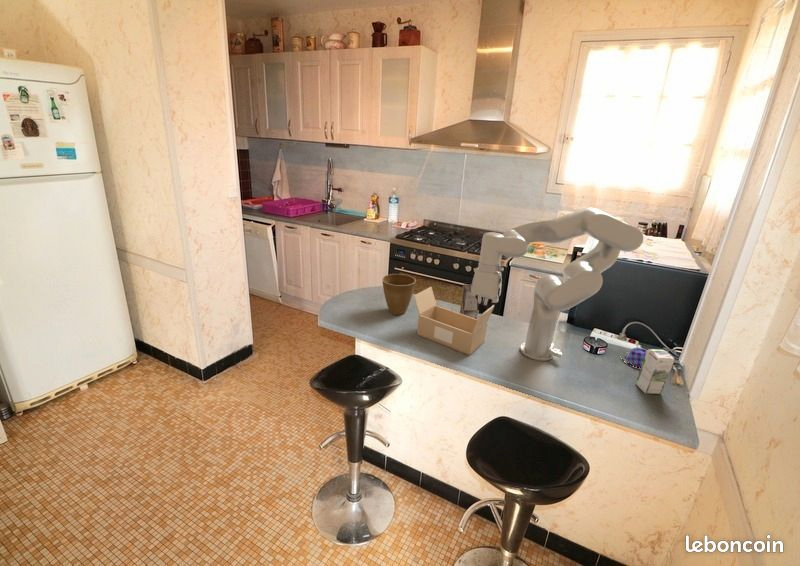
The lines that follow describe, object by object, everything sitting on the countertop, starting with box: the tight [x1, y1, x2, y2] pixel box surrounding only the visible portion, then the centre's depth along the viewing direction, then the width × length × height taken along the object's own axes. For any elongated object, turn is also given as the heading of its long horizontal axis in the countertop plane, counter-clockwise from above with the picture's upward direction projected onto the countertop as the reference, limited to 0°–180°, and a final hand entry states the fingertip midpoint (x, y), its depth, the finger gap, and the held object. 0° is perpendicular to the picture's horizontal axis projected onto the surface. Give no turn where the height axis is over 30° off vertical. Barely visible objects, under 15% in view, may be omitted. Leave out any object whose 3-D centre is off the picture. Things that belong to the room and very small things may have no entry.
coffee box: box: [459, 283, 479, 319], centre depth 171 cm, size 9×6×16 cm
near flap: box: [472, 304, 495, 334], centre depth 147 cm, size 8×13×1 cm
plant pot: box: [381, 273, 417, 316], centre depth 176 cm, size 15×15×16 cm
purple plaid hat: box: [620, 347, 648, 370], centre depth 149 cm, size 12×12×5 cm
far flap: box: [413, 286, 437, 315], centre depth 160 cm, size 8×13×1 cm
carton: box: [416, 304, 488, 356], centre depth 156 cm, size 24×13×9 cm, turn 54°
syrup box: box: [635, 348, 675, 395], centre depth 131 cm, size 6×6×14 cm
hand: (482, 313), depth 146 cm, fingers closed
